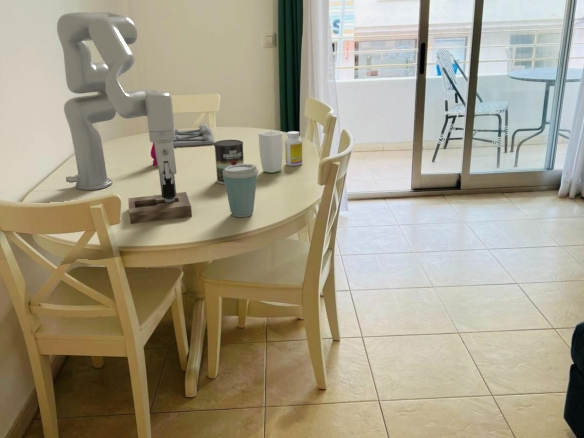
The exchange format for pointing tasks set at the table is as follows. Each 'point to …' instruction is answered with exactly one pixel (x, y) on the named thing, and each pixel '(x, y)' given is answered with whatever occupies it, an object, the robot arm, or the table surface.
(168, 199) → the peg
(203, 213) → the table surface
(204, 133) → the grey piece
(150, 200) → the keyhole plate
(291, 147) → the supplement bottle
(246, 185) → the disposable coffee cup
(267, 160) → the cup
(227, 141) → the coffee can
